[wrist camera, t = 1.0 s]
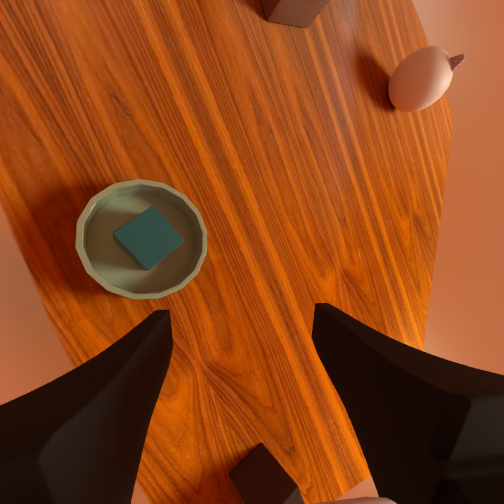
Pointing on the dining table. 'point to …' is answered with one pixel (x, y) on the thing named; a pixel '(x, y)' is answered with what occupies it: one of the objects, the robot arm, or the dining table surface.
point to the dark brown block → (263, 480)
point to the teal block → (148, 238)
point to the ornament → (422, 78)
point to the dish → (118, 261)
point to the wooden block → (293, 11)
